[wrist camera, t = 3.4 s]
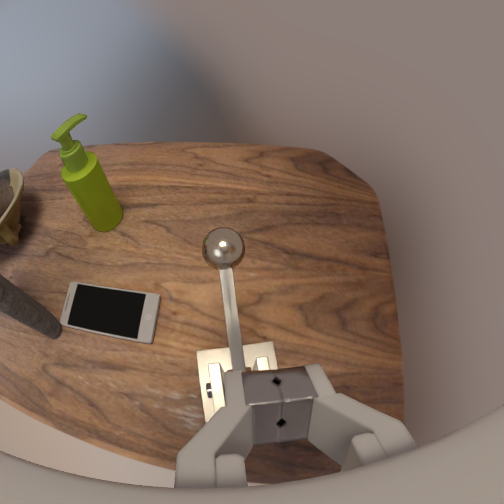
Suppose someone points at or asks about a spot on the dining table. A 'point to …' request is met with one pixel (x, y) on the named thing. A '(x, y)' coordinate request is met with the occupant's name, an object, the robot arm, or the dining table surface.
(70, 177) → the soap dispenser
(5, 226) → the bowl
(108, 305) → the smartphone
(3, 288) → the flask
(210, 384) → the metal pivot stand
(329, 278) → the dining table surface
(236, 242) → the lever
